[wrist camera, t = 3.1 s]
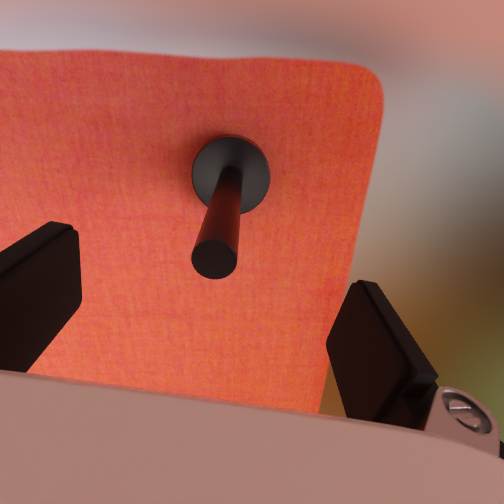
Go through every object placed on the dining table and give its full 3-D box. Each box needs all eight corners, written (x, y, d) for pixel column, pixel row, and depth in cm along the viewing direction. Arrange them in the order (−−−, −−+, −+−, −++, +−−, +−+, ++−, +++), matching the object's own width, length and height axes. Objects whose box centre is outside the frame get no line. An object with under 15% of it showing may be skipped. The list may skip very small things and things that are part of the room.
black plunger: (179, 176, 24) (106, 265, 12) (227, 116, 22) (200, 147, 10) (235, 223, 26) (224, 341, 14) (284, 171, 24) (322, 255, 12)
